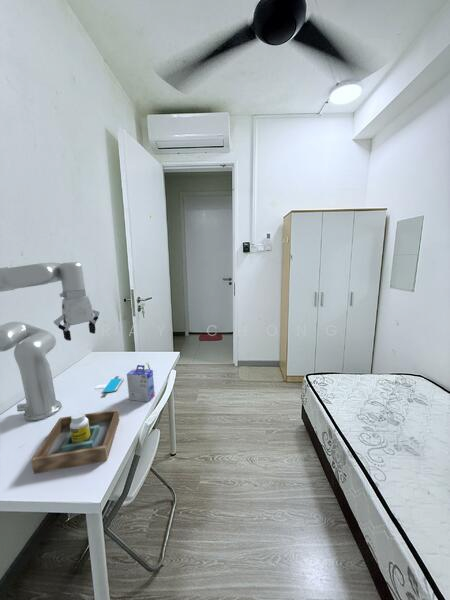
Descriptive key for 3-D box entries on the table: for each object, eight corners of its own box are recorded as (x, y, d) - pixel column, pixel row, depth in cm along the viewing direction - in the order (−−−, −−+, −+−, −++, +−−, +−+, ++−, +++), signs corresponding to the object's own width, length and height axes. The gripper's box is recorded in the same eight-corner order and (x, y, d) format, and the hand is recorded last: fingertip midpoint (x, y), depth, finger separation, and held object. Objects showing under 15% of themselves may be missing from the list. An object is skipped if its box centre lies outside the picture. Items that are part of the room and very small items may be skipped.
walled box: (34, 473, 75) (31, 460, 74) (61, 428, 94) (59, 417, 94) (107, 460, 79) (105, 447, 78) (119, 419, 98) (118, 409, 98)
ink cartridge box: (155, 395, 115) (152, 364, 112) (149, 402, 110) (146, 370, 107) (135, 393, 117) (132, 363, 114) (128, 400, 112) (125, 369, 109)
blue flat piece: (104, 378, 134) (104, 375, 133) (128, 376, 134) (127, 373, 134) (87, 399, 114) (86, 396, 114) (114, 397, 115) (114, 394, 114)
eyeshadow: (140, 371, 139) (139, 362, 138) (149, 369, 141) (148, 360, 140) (141, 374, 135) (140, 365, 134) (150, 372, 137) (150, 363, 136)
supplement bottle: (70, 448, 83) (66, 421, 82) (75, 437, 89) (71, 411, 87) (88, 444, 85) (84, 418, 83) (92, 433, 90) (88, 408, 88)
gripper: (55, 298, 91) (62, 344, 94) (101, 291, 105) (106, 331, 109) (45, 297, 95) (52, 341, 98) (91, 290, 109) (96, 329, 113)
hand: (80, 336), depth 104 cm, fingers open, 9 cm apart
